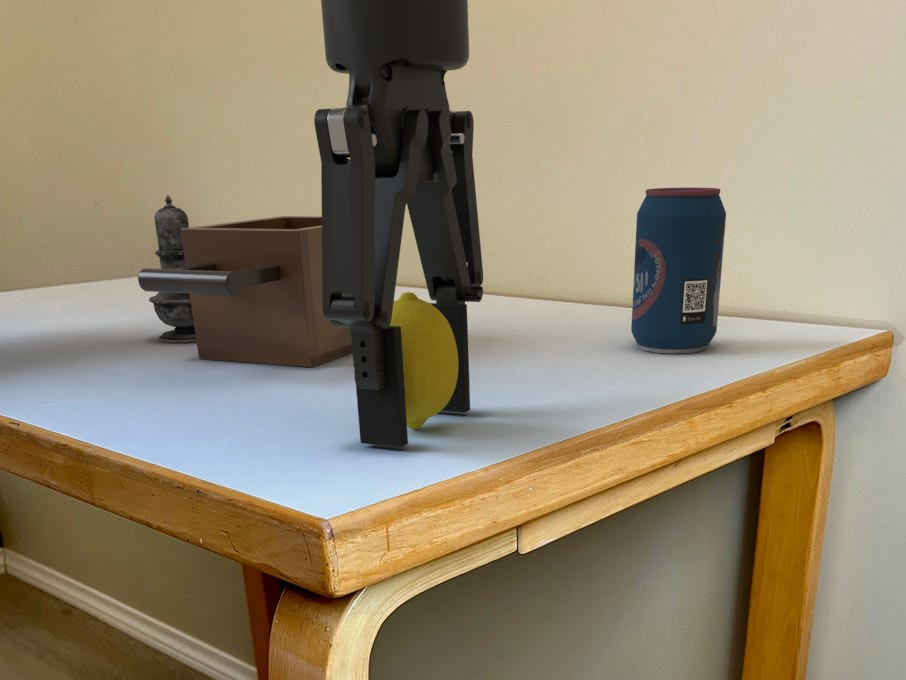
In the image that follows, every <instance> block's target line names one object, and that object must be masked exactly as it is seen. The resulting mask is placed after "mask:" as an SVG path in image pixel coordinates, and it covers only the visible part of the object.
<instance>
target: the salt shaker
mask: <svg viewBox="0 0 906 680" xmlns="http://www.w3.org/2000/svg"><path fill="white" fill-rule="evenodd" d="M172 201H173V199H172V197H171V196H170V195H169V194H166V197H165V199H164V202H165V205H164V206H163V207H162V208H159V209H158V210H157V211H155V214H154V217H153V218H154V225H155V232H156V239H157V245H158V250H156V251H155V252H154V254H155V255H156V256H157V257H158V258H159V265H160V269H176V268H182V267H186V264H185V257H184V250H183V243H182V236H181V229H182V228H190V224H189V223H190V222H189V217H188V215H187V213H186V212H185V210H183V209H182V208H179V207H176V205H175V204H172ZM148 301H149V302H150V303H152V304H153V310H154V312H155V314H156V316H157V317H158V319H159V320H160V321H161V322H162V323H163V324H164V325H166V326H170V327H173V328H174V329H170V330H167V331H164V332H163V333H162V334H161V335H160V336H159V337H158V341H159V342H162V343H168V344H169V343H170V344H187V343H188V344H189V343H197V341H196V334H195V327H194V320H193V313H192V306H191V299H190V293H171V292H157V294H156V295H152V296H150V297H149V298H148Z"/></svg>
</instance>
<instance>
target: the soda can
mask: <svg viewBox="0 0 906 680" xmlns="http://www.w3.org/2000/svg"><path fill="white" fill-rule="evenodd" d="M720 194H721V189H720V188H718V187H657V188H648V189H645V197H644V199H643V201H642V203H641V204H640V207H639V208H638V211H637V213H636V226H635V246H634V247H635V248H634V266H633V267H634V268H633V285H632V286H633V288H632V305H631V306H632V307H631V308H632V309H631V327H630V331H631V334H632V337H633V338H634V340H635V343H636V344H637V346H638V348H639V349H640V350H642V351H646V352H649V353H656V354H671V355H672V354H674V355H675V354H676V355H677V354H692V353H698V352H703V351H705V350H706V349H707V348H708V346H709V345H710V344H711V342H712V340H713V339H714V338H715V336H716V334H717V330H718V317H719V306H720V294H721V293H720V292H721V284H722V283H721V282H722V270H723V269H722V268H723V260H724V259H723V256H724V246H725V233H726V220H727V212H726V209H725V206H724V203H723V201H722V198H721V196H720Z"/></svg>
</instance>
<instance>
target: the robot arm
mask: <svg viewBox="0 0 906 680" xmlns="http://www.w3.org/2000/svg"><path fill="white" fill-rule="evenodd" d="M468 1H469V0H320V5H321V17H322V18H321V19H322V29H323V39H324V40H323V41H324V42H323V43H324V52H325V62H326V65H327V66H328V68H329V69H331V70H332V71H333V72H336V73H339V74H345V75H346V74H347V75H349V76H348V93H347V99H346V106H344V107H340V108H339V107H335V108H318V109H317V110H316V111H315V113H314V118H313V122H314V129H315V135H316V141H317V146H318V152H319V157H320V163H321V164H320V165H321V170H320V173H321V184H320V185H321V217H322V307H323V313H324V316H325V318H326V319H328V320H330V321H331V323H332V325H333V326H337V327H349V329H350V332H351V339H352V351H353V353H352V361H353V369H354V370H353V373H354V382H355V389H356V403H357V404H356V405H357V414H358V415H357V417H358V429H359V439H360V444H367V445H377V446H385V447H397V448H403V447H405V446H407V445H409V439H408V438H409V437H408V436H409V435H408V426H407V420H406V403H405V387H404V370H403V353H402V337H401V326H390V324H391V319H392V311H393V303H394V301H395V294H396V285H397V278H398V270H399V262H400V254H401V246H402V239H403V230H404V223H405V215H406V207H407V210H408V211H407V212H408V215H409V218H410V222H411V227H412V231H413V234H414V239H415V243H416V247H417V251H418V255H419V259H420V264H421V267H422V271H423V275H424V280H425V284H426V288H427V291H428V292H427V293H428V295H429V298H430V300H431V301H433V302H429V303H430V304H431V305H433V306H434V307H436V308H437V309H438V310H439V311H440V312H441V313H442V314H443V315H444V317H445V318H446V319H447V321H448V323H449V324H450V327H451V329H452V332H453V335H454V338H455V342H456V347H457V353H458V377H457V383H456V387H455V390H454V392H453V394H452V396H451V398H450V400H449V402H448V403H447V405H446V406H445V407H444V408H443V409H442V410H441V411H440V412H442V411H443V412H452V413H467V412H469V411H471V390H470V389H471V388H470V361H469V360H470V358H469V331H468V328H469V327H468V304H467V303H481V301H482V299H483V295H484V287H483V286H482V285H483V283H484V268H483V258H482V246H481V233H480V225H479V214H478V213H479V212H478V203H477V193H476V191H477V190H476V180H475V169H474V159H473V158H474V157H473V153H474V152H473V150H474V148H473V147H474V130H475V129H474V125H475V124H474V123H475V121H474V117H473V116H474V114H473V113H472V111H470V110H457V111H456V110H455V111H453V110H451V109H450V103H449V99H448V95H447V90H446V83H445V76H446V73H447V72H448V71H456V70H460V69H462V68H464V67H466V65H467V64H468V62H469V59H470V36H469V3H468ZM342 293H344V296H342ZM374 300H375V303H374ZM466 302H467V303H466Z"/></svg>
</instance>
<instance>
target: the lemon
mask: <svg viewBox="0 0 906 680" xmlns="http://www.w3.org/2000/svg"><path fill="white" fill-rule="evenodd" d="M430 303H431V302H428V301H425V300H423V299H420V298H419V297H418V296H417V294H416V293H414V292H409V291H407V292H403V293H402V294H401V295H400V296H399V298H398V299H396V300H394V303H393V311H392V319H391V324H390V326H401V337H402V353H403V370H404V387H405V403H406V420H407V428H409V429H411V430H418V429H420V428H422V426H423V425H424V424H425V423H426V422H427V420H428V419H430V418H431V417H434V416H436V415H437V414H439V413H440V412H442V411H441V410H442V409H443V408H444V407H445V406H446V405H447V403H448V402H449V400H450V398H451V396H452V394H453V392H454V390H455V387H456V383H457V377H458V353H457V347H456V342H455V338H454V335H453V332H452V329H451V327H450V324H449V323H448V321H447V319H446V318H445V317H444V315H443V314H442V313H441V312H440V311H439V310H438V309H437V308H436V307H434V306H433V305H431V304H430Z"/></svg>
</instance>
